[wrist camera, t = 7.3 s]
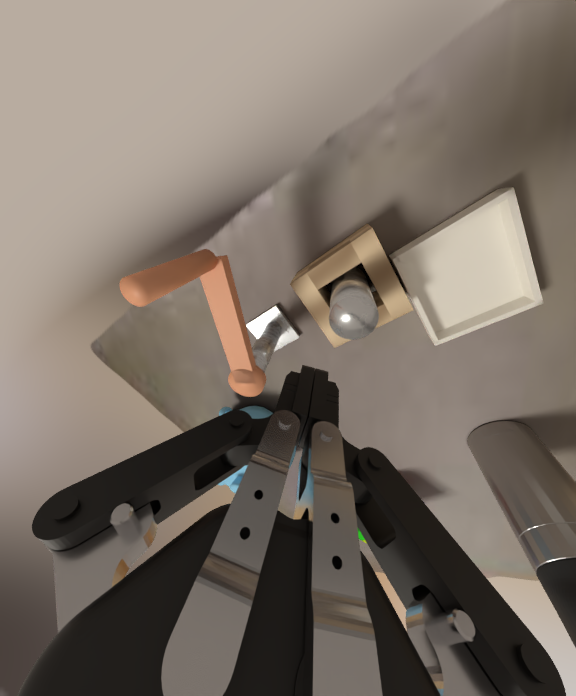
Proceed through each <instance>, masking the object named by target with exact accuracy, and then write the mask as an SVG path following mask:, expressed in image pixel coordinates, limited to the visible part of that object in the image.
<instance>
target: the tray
mask: <svg viewBox="0 0 576 696" xmlns="http://www.w3.org/2000/svg"><path fill="white" fill-rule="evenodd" d="M389 257H390V259H391V261H392V263H393V265H394V267H395V269H396V271H397V273H398V275H399V277H400V279H401V281H402V283H403V285H404V287H405V289H406V291H407V293H408V295H409V298H410V300H411V302H412V304H413V306H414V308H415V310H416V312H417V314H418V316H419V318H420V320H421V322H422V324H423V326H424V328H425V330H426V332H427V334H428V336H429V338H430V339H431V341H432V342H433V344H434V345H435V346H436V345H439V344H441V343H444V342H446V341H449V340H451V339H454V338H457V337H459V336H462V335H464V334H467V333H469V332H472V331H474V330H477V329H479V328H482V327H484V326H487V325H489V324H492V323H495V322H497V321H500V320H502V319H505V318H507V317H510V316H512V315H515V314H517V313H520V312H522V311H525V310H528V309H530V308H533V307H535V306H538V305H540V304H543V300H542V296H541V292H540V288H539V284H538V280H537V276H536V272H535V269H534V265H533V261H532V257H531V253H530V249H529V245H528V241H527V237H526V233H525V229H524V226H523V222H522V218H521V214H520V210H519V206H518V202H517V198H516V194H515V190H514V187H511V188H499V189H497V190H495V191H494V192H492V193H490V194H489V195H487V196H485V197H484V198H482V199H480V200H479V201H477V202H476V203H474V204H472V205H471V206H469V207H467V208H466V209H464V210H462V211H461V212H459V213H457V214H456V215H454V216H453V217H451V218H449V219H448V220H446V221H444V222H443V223H441V224H439V225H438V226H436V227H434V228H433V229H431V230H430V231H428V232H426V233H425V234H423V235H421V236H420V237H418V238H416V239H415V240H413V241H411V242H410V243H408V244H407V245H405V246H403V247H402V248H400V249H398V250H397V251H395V252H393V253H392V254H390V255H389Z"/></svg>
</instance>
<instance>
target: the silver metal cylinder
mask: <svg viewBox="0 0 576 696" xmlns="http://www.w3.org/2000/svg"><path fill="white" fill-rule="evenodd" d="M378 320H379V313H378V309H377V306H376V304H375V301H374V298H373V295H372V293H371V290H370V287H369V284H368V281H367V279H366V276H365V274H364V273H363V271H362V270H360V269H359V268H356V267H353V268H352V269H350V270H349V271H347V272H345V273H344V274H342V275H341V276H339V277H337V278H336V279H334V280H333V281H332V290H331V301H330V312H329V323H330V326H331V328H332V330H333V331H334V332H335V333H336V334H337V335H338V336H340V337H342V338H345V339H350V340H354V339H360V338H363V337H365V336H367V335H369V334H370V333H371V332H372V331H373V330H374V329H375V327H376V326H377V323H378Z"/></svg>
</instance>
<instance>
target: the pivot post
mask: <svg viewBox="0 0 576 696" xmlns="http://www.w3.org/2000/svg"><path fill="white" fill-rule="evenodd" d="M246 326H247V327H248V328H249V329H250V331H251V332H252V333H253V334H254V335H255V337H256V338H257V340H256V342H255V344H254V345H253V347H252V352H253V355H254V359H255V363H256V365H257V366H258V367H260V368H261V369H262V370H263V372H265V370H266V368H267V365H268V363H269V361H270V359H271V356H272V354H273V352H274V351H275V350H277V349H279V348H281V347H283V346H285V345H287V344H288V343H290V342H292V341H294V340H296V339H298V338H299V337H300V334H299V333H298V331H297V330H296V329H295V327H294V326H293V325H292V323H291V322H290V321H289V319H288V318H287V317H286V315H285V314H284V313H283V311H282V310H281V309H280V307H279V306H278V305H277V304H276V305H275V306H273V307H272V308H270V309H269V310H267V311H266V312H264V313H263V314H261V315H260V316H258V317H257V318H255V319H253V320H252V321H250V322H249V323H248V324H247V325H246Z"/></svg>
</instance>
